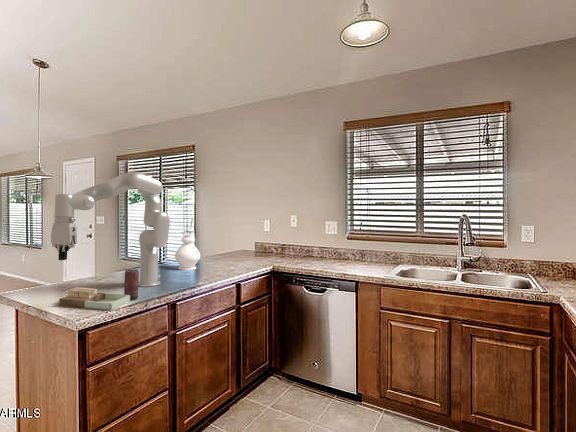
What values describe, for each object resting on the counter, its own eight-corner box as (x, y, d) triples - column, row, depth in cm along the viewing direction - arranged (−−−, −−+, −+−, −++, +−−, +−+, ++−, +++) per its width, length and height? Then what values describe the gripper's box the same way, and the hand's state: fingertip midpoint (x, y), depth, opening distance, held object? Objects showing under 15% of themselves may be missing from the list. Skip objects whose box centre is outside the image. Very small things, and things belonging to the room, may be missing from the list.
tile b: (87, 294, 157) (87, 288, 157) (96, 295, 156) (97, 289, 156) (79, 297, 152) (79, 290, 152) (89, 298, 152) (89, 291, 151)
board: (82, 297, 162) (82, 291, 162) (105, 299, 161) (105, 293, 161) (59, 305, 149) (59, 299, 148) (83, 307, 147) (83, 301, 147)
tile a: (76, 293, 158) (76, 287, 158) (86, 294, 157) (86, 288, 157) (68, 296, 153) (68, 289, 153) (78, 297, 152) (78, 290, 152)
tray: (106, 299, 161) (106, 293, 161) (130, 301, 159) (130, 295, 159) (84, 308, 147) (84, 301, 147) (110, 310, 145) (111, 303, 145)
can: (131, 301, 159) (132, 272, 159) (121, 299, 162) (122, 270, 161) (141, 298, 165) (141, 270, 165) (131, 296, 167) (132, 268, 167)
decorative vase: (186, 271, 232) (187, 235, 232) (169, 268, 242) (170, 233, 241) (205, 268, 248) (206, 234, 247) (188, 265, 257) (189, 232, 256)
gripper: (84, 221, 158) (83, 259, 158) (56, 219, 160) (54, 257, 160) (72, 221, 150) (71, 262, 151) (42, 219, 152) (41, 259, 153)
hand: (62, 259), depth 155 cm, fingers closed
